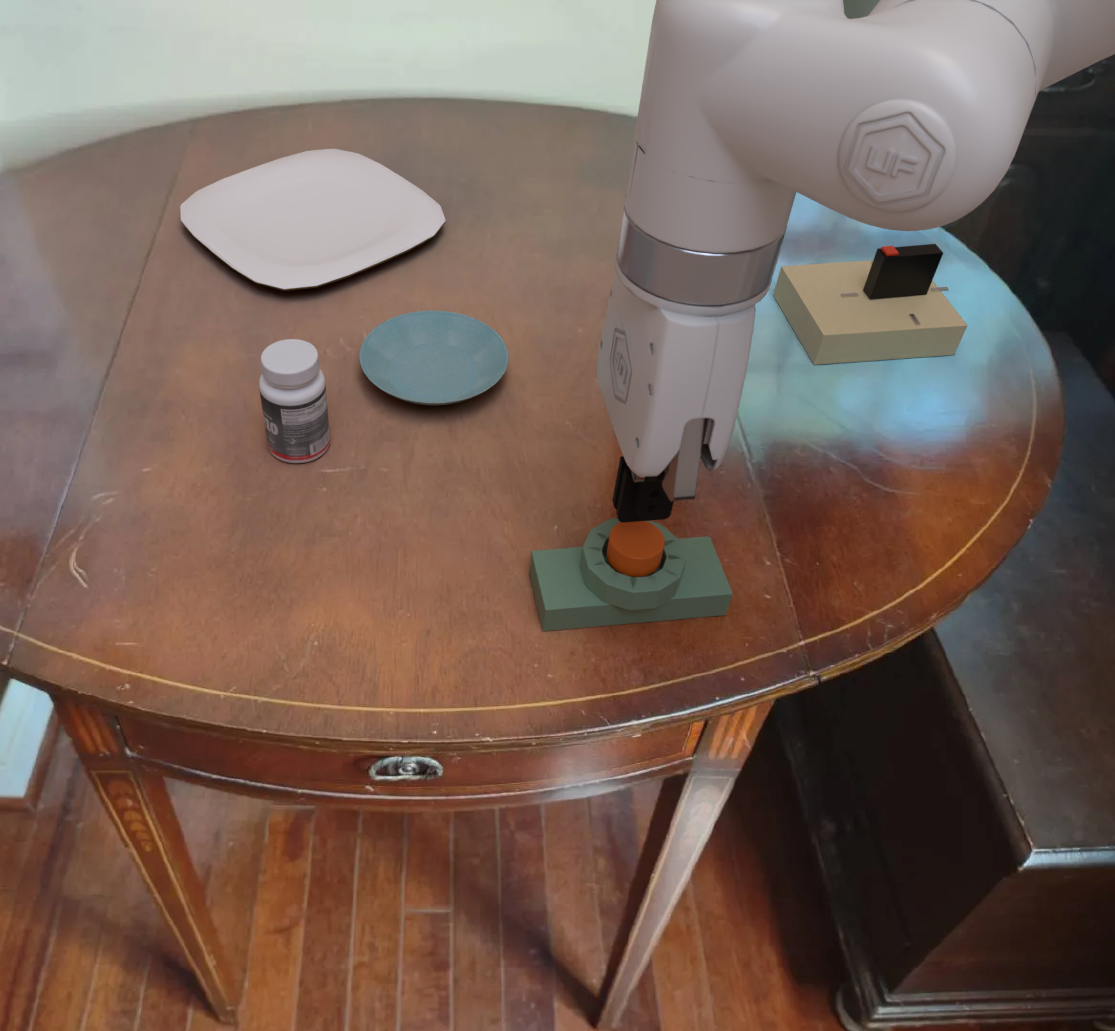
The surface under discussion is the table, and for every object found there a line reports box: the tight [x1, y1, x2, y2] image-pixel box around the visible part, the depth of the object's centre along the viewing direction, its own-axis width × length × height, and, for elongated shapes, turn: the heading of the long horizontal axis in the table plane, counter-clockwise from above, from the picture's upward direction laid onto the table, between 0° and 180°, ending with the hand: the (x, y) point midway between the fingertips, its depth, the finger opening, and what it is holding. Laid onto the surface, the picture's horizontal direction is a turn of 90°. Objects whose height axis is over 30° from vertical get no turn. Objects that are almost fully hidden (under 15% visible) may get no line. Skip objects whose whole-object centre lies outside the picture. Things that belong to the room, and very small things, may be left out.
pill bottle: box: [258, 338, 331, 464], centre depth 76 cm, size 5×5×8 cm
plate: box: [179, 148, 447, 292], centre depth 100 cm, size 22×22×2 cm
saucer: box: [358, 310, 510, 406], centre depth 84 cm, size 12×12×2 cm
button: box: [606, 521, 665, 577], centre depth 66 cm, size 3×3×2 cm
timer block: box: [528, 517, 734, 632], centre depth 67 cm, size 12×6×4 cm, turn 96°
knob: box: [863, 243, 944, 299], centre depth 86 cm, size 5×1×4 cm, turn 98°
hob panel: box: [772, 259, 968, 366], centre depth 88 cm, size 13×10×3 cm
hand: (640, 511), depth 63 cm, fingers closed
